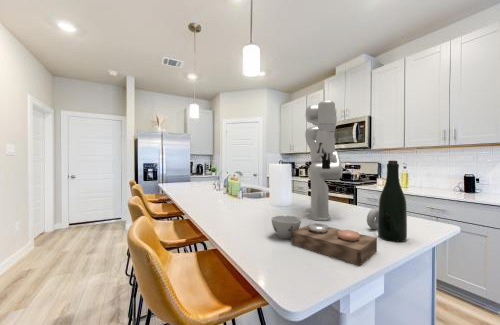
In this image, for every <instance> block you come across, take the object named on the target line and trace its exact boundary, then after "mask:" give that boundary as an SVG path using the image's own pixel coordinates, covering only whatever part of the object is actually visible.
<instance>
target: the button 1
mask: <svg viewBox="0 0 500 325" xmlns="http://www.w3.org/2000/svg"><path fill="white" fill-rule="evenodd" d="M308 225H309V230H310V231H312V232H313V233H317V234H321V235H322V234H324V233H325V232H327V231H328V227H329V226H328V225H327V224H323V223H316V222H315V223H310V224H308Z"/></svg>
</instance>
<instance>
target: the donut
mask: <svg viewBox="0 0 500 325" xmlns="http://www.w3.org/2000/svg"><path fill="white" fill-rule="evenodd" d="M378 213H379V208H376V207H375V208H374V207H373V208H372V209H370V210H369V211H368V213H367V215H366V223H367V226H368V228H370V229H371V230H378Z"/></svg>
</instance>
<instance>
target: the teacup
mask: <svg viewBox="0 0 500 325" xmlns="http://www.w3.org/2000/svg"><path fill="white" fill-rule="evenodd" d="M301 222H302V220H301V218H300V217H298V216H295V215H294V216H293V215H275V216H272V217H271V224H272V228H273V230H274V232H275V233H276V235H278V237H279V238H280V239H286V240H289V239H292V231H295V230H297V229H300V228H301V227H300V226H301Z"/></svg>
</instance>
